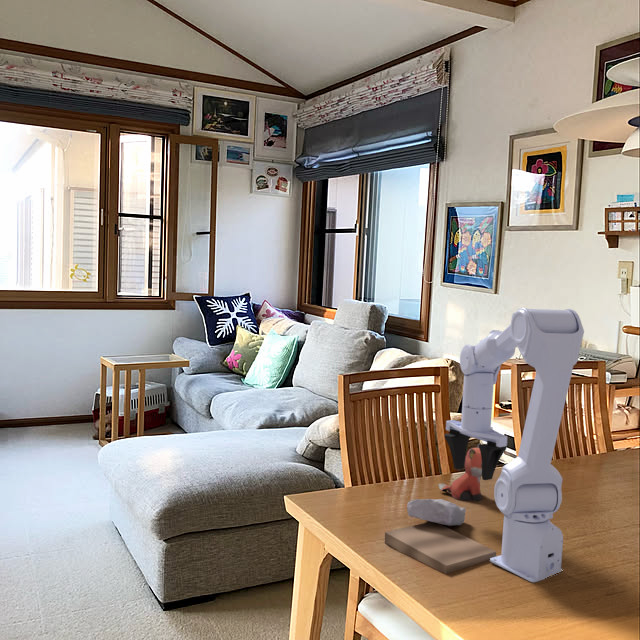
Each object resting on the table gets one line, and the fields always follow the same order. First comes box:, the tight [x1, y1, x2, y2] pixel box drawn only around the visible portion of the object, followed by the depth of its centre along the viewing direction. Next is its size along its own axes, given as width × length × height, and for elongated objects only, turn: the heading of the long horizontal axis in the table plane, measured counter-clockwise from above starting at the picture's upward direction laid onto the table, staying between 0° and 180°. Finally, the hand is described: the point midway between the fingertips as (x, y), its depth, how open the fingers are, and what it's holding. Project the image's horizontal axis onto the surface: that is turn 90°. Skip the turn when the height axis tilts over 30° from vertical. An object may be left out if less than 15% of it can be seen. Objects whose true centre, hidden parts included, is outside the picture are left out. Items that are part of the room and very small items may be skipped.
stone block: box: [406, 498, 467, 527], centre depth 139 cm, size 12×5×10 cm
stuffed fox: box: [437, 442, 483, 502], centre depth 158 cm, size 8×11×12 cm
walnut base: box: [384, 521, 497, 575], centre depth 128 cm, size 16×12×2 cm
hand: (472, 473), depth 141 cm, fingers open, 7 cm apart
